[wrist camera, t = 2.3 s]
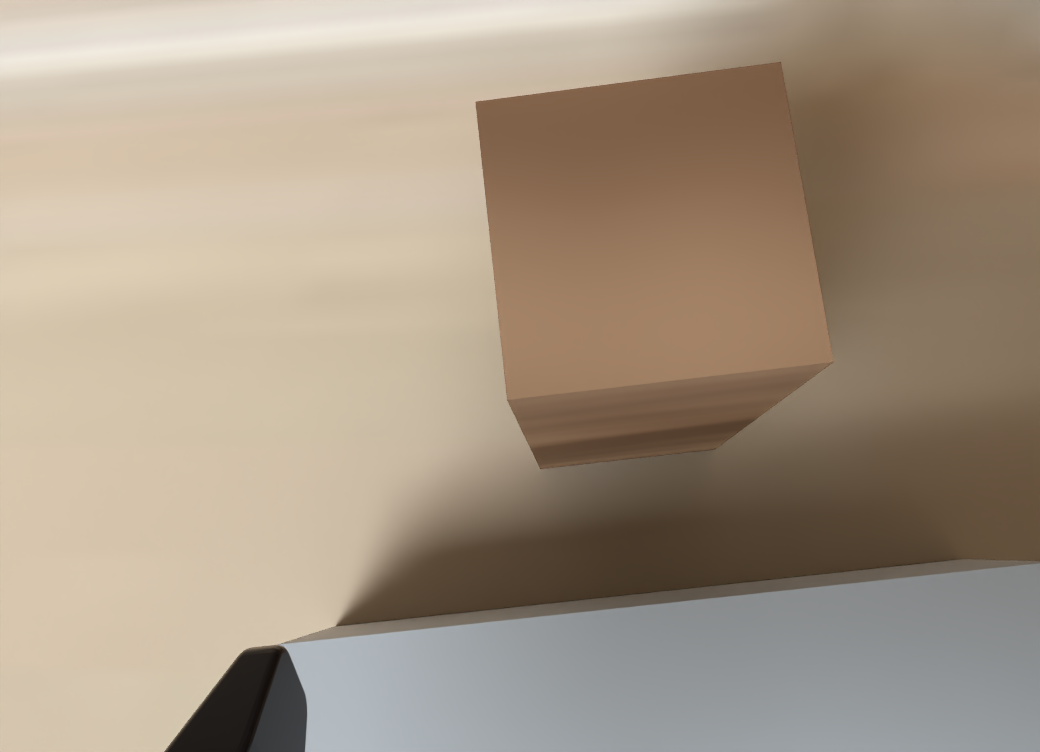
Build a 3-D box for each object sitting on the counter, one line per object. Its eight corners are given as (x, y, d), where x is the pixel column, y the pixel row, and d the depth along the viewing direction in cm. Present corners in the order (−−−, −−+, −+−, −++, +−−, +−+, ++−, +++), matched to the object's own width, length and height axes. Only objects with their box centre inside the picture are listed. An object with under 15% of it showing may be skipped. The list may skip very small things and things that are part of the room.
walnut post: (714, 449, 21) (834, 362, 11) (540, 468, 21) (507, 400, 11) (690, 281, 22) (780, 61, 12) (521, 301, 22) (475, 101, 12)
